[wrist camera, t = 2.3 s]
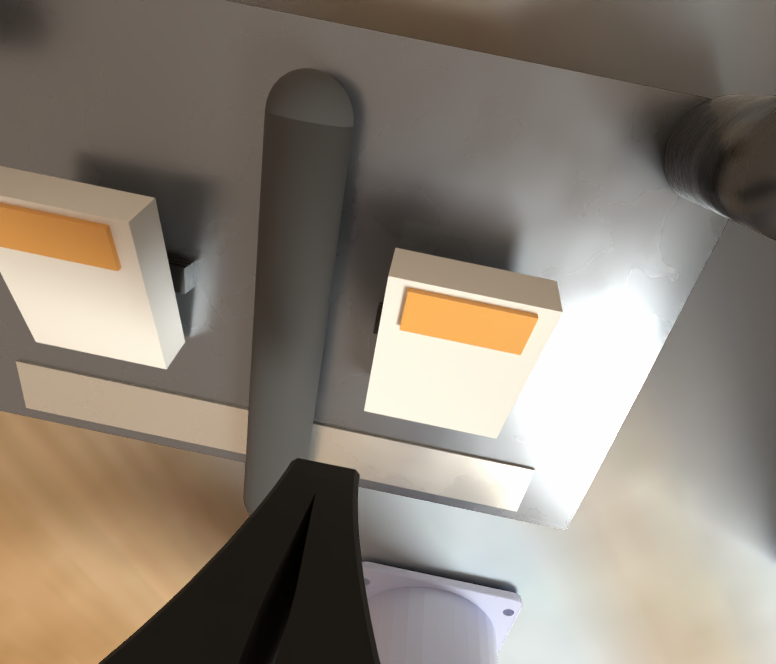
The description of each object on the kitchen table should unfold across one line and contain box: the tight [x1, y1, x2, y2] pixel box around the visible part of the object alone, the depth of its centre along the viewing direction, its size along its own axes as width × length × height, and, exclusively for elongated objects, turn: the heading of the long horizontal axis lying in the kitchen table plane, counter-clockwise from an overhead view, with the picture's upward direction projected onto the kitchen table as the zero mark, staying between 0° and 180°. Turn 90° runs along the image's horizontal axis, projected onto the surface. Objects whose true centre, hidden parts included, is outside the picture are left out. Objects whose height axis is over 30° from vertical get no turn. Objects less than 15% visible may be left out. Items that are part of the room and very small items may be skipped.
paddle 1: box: [0, 166, 185, 369], centre depth 13 cm, size 5×4×1 cm
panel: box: [0, 0, 776, 530], centre depth 14 cm, size 14×22×6 cm, turn 80°
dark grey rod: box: [244, 68, 354, 515], centre depth 14 cm, size 14×2×2 cm, turn 170°
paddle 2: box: [364, 248, 563, 439], centre depth 13 cm, size 5×4×1 cm
